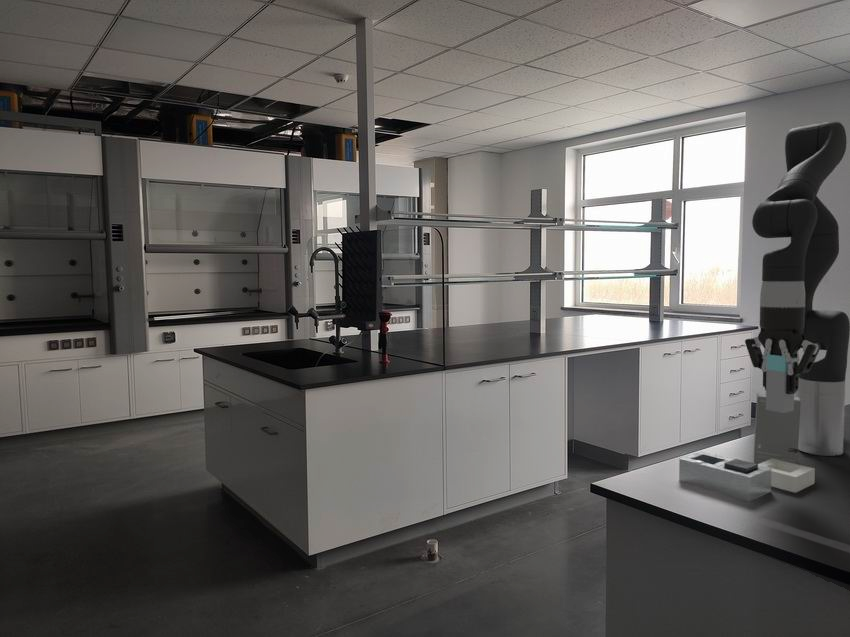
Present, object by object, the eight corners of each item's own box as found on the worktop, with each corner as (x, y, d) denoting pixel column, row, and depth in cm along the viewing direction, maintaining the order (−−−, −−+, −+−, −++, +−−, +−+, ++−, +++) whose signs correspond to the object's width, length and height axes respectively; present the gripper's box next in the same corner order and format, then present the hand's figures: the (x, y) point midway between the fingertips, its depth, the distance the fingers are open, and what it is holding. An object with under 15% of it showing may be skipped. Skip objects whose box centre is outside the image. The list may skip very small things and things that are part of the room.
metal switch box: (701, 476, 125) (701, 447, 124) (770, 496, 113) (771, 464, 113) (679, 485, 120) (679, 454, 120) (749, 506, 109) (750, 473, 108)
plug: (775, 407, 119) (777, 353, 119) (793, 410, 116) (795, 354, 115) (765, 409, 118) (767, 354, 117) (783, 413, 115) (785, 356, 114)
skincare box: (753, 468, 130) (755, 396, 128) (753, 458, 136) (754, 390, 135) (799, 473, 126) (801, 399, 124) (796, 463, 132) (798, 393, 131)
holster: (771, 477, 124) (772, 458, 123) (814, 488, 117) (814, 468, 117) (752, 485, 119) (752, 466, 119) (795, 497, 113) (795, 477, 112)
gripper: (832, 305, 111) (829, 395, 112) (757, 302, 123) (756, 384, 125) (810, 306, 107) (807, 400, 109) (735, 304, 120) (734, 388, 121)
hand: (779, 391), depth 117 cm, fingers closed on plug, 3 cm apart
